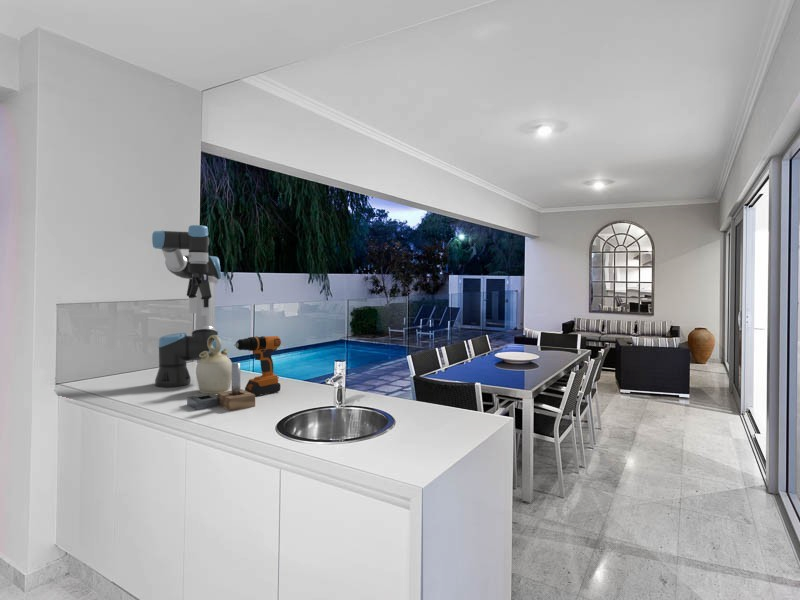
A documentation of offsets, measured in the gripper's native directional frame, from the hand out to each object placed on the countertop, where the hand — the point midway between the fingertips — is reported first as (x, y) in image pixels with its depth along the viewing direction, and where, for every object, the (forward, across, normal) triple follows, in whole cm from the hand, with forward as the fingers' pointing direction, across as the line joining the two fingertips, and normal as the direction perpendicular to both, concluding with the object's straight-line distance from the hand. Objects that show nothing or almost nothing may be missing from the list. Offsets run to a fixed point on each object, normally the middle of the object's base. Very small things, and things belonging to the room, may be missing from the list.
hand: (198, 314), depth 203 cm
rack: (+35, +24, +5) cm, 42 cm away
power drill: (+35, +11, +21) cm, 42 cm away
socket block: (+35, +16, -4) cm, 38 cm away
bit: (+34, +24, +5) cm, 42 cm away
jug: (+35, -6, +9) cm, 37 cm away
